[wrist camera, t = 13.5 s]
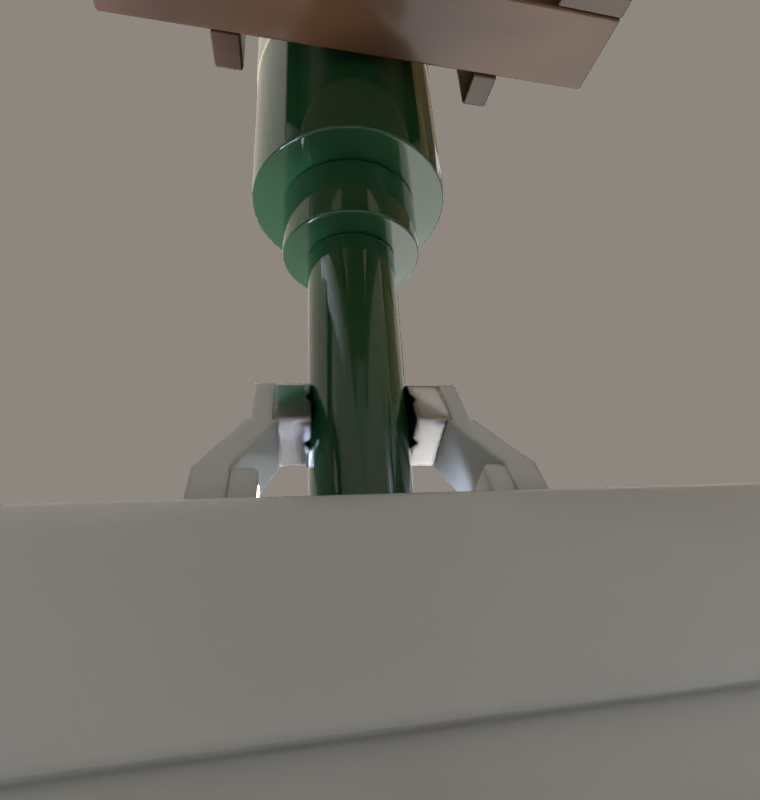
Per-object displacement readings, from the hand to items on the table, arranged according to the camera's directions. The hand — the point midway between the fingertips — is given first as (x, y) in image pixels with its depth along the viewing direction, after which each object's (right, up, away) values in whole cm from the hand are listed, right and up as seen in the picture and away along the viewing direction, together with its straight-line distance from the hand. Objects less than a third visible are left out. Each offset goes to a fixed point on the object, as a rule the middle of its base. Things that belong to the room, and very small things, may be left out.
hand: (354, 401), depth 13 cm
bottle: (0, +10, 0) cm, 10 cm away
